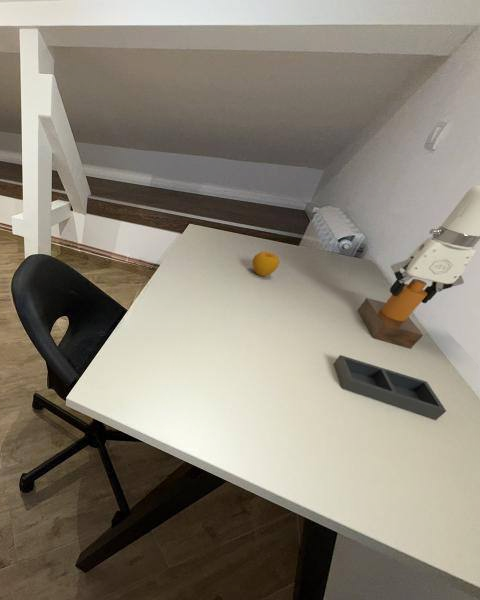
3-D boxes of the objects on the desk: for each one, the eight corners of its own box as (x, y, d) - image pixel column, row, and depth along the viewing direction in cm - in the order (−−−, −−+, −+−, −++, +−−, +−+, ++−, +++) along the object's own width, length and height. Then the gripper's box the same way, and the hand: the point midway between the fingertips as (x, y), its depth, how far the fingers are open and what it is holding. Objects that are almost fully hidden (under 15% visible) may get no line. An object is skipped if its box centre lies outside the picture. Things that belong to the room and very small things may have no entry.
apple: (243, 270, 120) (252, 249, 115) (258, 267, 123) (268, 247, 118) (260, 281, 113) (271, 259, 108) (277, 278, 116) (288, 257, 111)
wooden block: (390, 319, 99) (400, 306, 97) (410, 348, 87) (423, 335, 84) (357, 310, 102) (366, 297, 99) (372, 337, 90) (383, 324, 87)
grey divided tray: (331, 365, 78) (339, 354, 76) (416, 392, 73) (426, 381, 71) (340, 390, 71) (349, 379, 69) (433, 421, 66) (446, 411, 64)
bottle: (401, 312, 93) (428, 280, 87) (409, 323, 88) (438, 289, 82) (377, 306, 95) (402, 274, 89) (383, 316, 90) (411, 283, 84)
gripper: (419, 234, 78) (375, 294, 88) (510, 251, 73) (452, 313, 83) (407, 225, 84) (367, 282, 94) (490, 241, 79) (438, 300, 89)
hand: (407, 296), depth 88 cm, fingers closed on bottle, 6 cm apart
